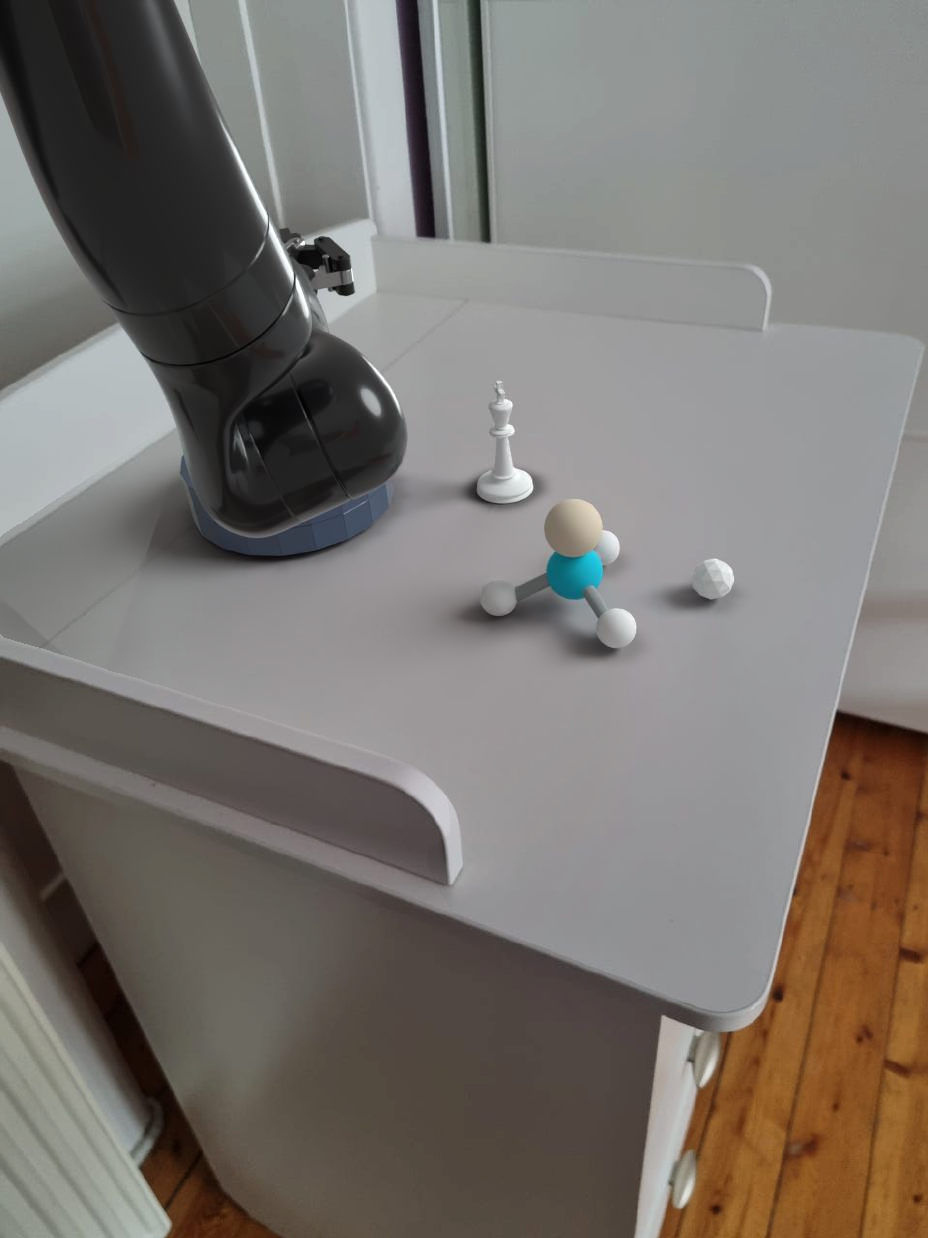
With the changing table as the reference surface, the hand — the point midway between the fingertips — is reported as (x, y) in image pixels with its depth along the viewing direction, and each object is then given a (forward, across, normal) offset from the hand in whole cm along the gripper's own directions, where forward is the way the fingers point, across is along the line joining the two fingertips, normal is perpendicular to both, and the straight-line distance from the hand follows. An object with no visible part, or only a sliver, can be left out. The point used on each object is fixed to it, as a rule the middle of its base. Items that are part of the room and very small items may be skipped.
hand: (241, 248), depth 71 cm
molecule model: (-24, -17, +22) cm, 37 cm away
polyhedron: (-26, -27, +22) cm, 43 cm away
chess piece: (-6, -18, +22) cm, 29 cm away
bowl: (-1, 0, +22) cm, 22 cm away
